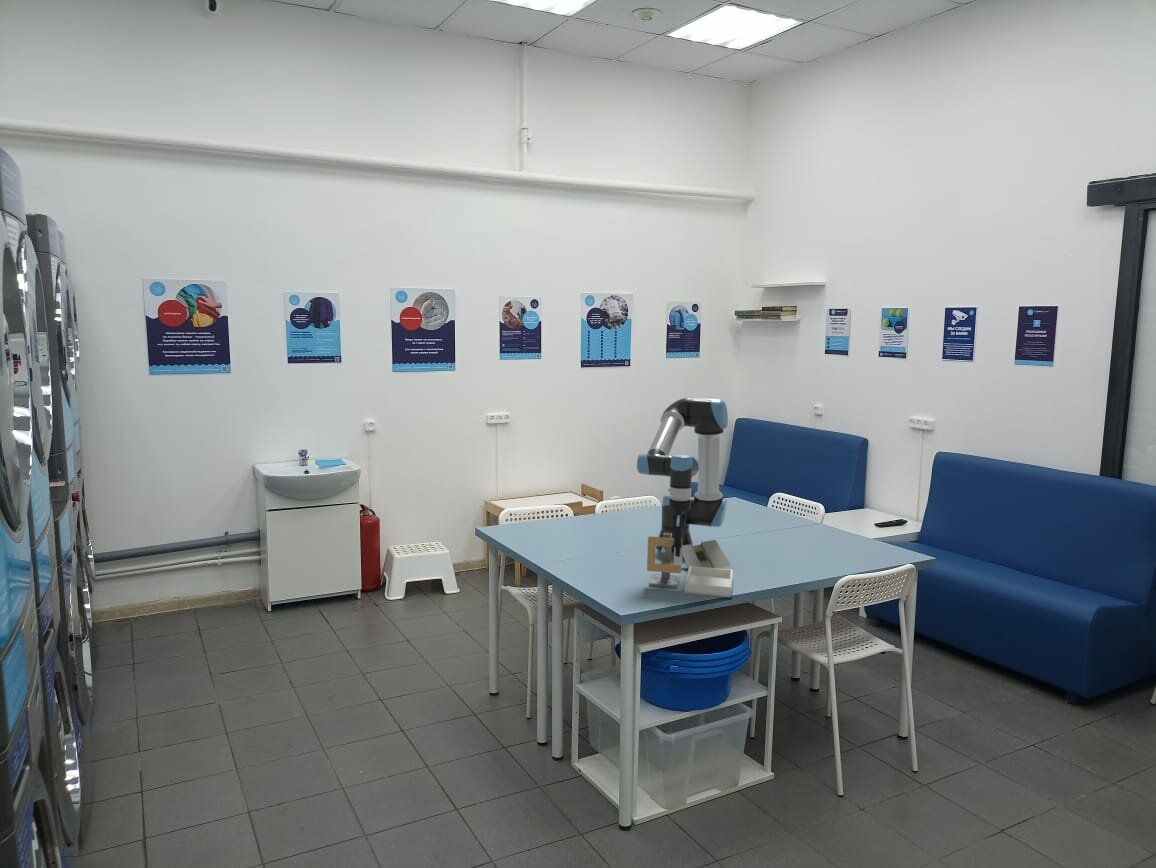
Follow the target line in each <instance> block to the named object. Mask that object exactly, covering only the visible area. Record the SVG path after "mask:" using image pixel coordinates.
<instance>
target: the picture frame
mask: <svg viewBox="0 0 1156 868" xmlns="http://www.w3.org/2000/svg"><path fill="white" fill-rule="evenodd" d="M672 545H674V538H664V537H659V536H650V535H649V536H648V537H647V556H646V557H647V558H646V559H647V560H646V561H647V562H646V571H648V572H656V573H657V572H659V573H662V572H668V573H671V574H681V573H682V565H683V564H682V563H683V560H682V561H681V565H674V563H671V564H666V563H662V562H656V547H657V546H669V547H672Z"/></svg>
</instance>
